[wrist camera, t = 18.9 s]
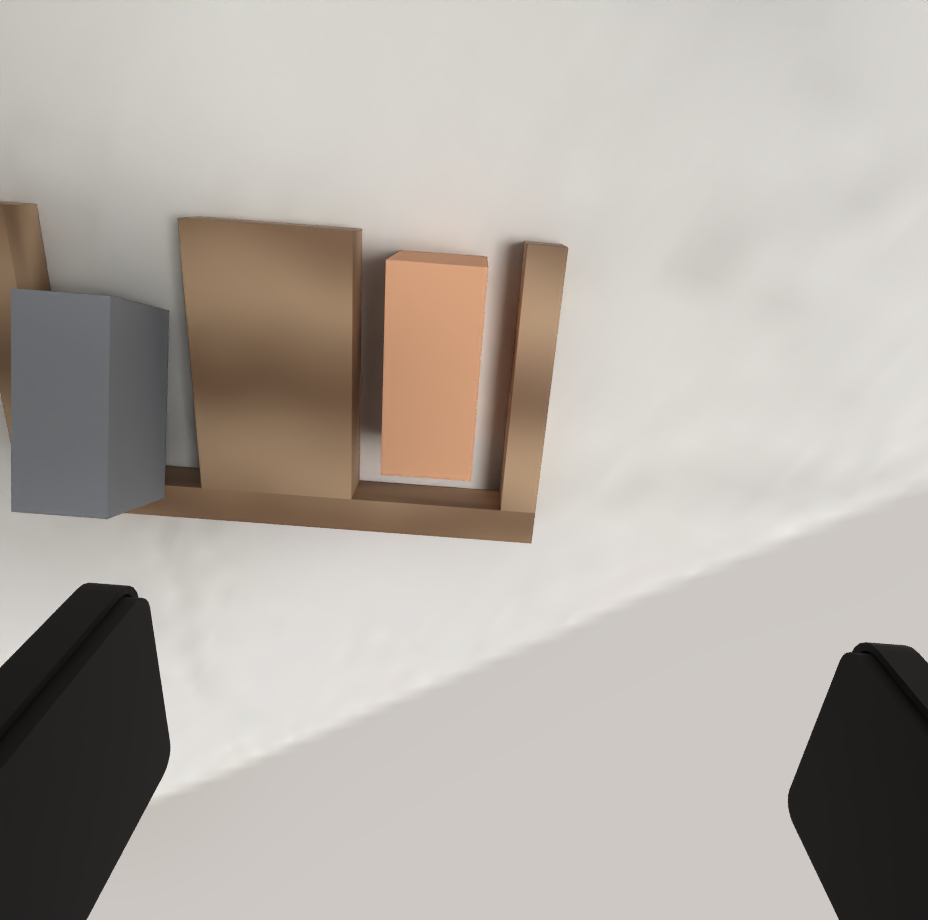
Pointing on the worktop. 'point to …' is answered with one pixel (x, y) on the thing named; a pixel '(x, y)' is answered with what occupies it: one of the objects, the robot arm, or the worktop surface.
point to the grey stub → (86, 403)
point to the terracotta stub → (431, 363)
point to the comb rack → (308, 382)
